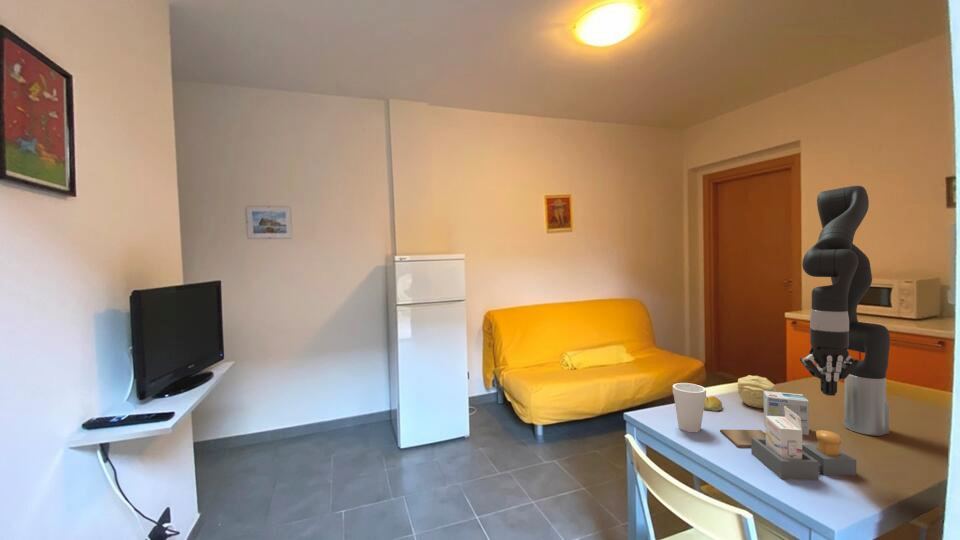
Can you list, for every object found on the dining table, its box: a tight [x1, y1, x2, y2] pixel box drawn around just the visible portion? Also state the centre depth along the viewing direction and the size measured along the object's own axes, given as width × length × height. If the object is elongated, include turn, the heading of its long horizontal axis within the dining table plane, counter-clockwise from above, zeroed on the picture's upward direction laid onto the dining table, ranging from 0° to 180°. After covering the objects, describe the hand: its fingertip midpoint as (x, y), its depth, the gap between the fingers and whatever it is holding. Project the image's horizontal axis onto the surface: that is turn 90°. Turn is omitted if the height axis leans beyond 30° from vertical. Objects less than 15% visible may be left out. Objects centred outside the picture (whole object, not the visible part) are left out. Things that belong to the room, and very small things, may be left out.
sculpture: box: [737, 374, 778, 409], centre depth 146 cm, size 11×12×11 cm
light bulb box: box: [763, 391, 810, 436], centre depth 127 cm, size 11×7×11 cm, turn 65°
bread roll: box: [703, 396, 723, 412], centre depth 146 cm, size 8×9×4 cm
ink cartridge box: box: [765, 406, 803, 460], centre depth 105 cm, size 9×5×15 cm, turn 168°
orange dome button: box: [815, 429, 842, 455], centre depth 104 cm, size 5×5×6 cm
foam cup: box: [672, 382, 707, 433], centre depth 129 cm, size 10×9×13 cm
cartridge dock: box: [750, 438, 857, 481], centre depth 105 cm, size 19×13×4 cm, turn 85°
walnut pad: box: [719, 429, 766, 449], centre depth 120 cm, size 12×10×1 cm
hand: (828, 394), depth 104 cm, fingers closed
